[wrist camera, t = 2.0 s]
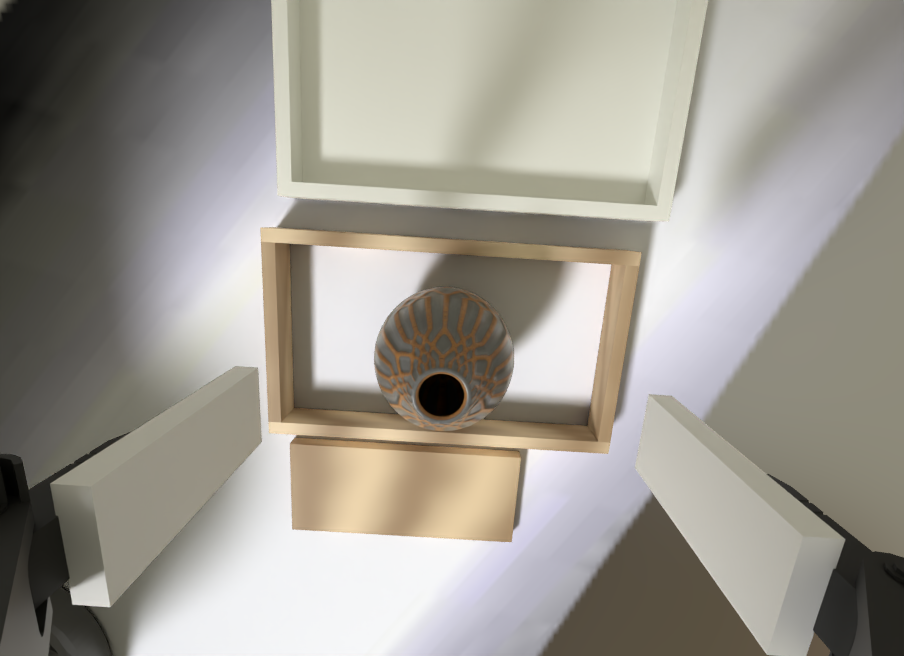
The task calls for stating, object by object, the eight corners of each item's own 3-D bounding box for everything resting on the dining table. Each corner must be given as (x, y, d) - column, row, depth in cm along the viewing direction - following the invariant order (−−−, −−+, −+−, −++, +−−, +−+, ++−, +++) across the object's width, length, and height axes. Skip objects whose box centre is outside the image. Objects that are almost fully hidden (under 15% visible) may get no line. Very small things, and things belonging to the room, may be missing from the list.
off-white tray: (293, 198, 23) (277, 195, 21) (288, -50, 20) (268, -82, 18) (649, 221, 23) (668, 221, 21) (690, -21, 21) (717, -50, 18)
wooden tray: (282, 417, 26) (268, 433, 24) (276, 227, 23) (260, 227, 22) (596, 436, 26) (608, 453, 24) (626, 250, 24) (641, 252, 22)
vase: (507, 280, 24) (536, 310, 16) (502, 394, 26) (525, 477, 17) (385, 278, 24) (348, 307, 16) (388, 392, 26) (355, 474, 17)
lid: (296, 520, 28) (292, 529, 27) (294, 437, 26) (289, 443, 26) (509, 533, 28) (511, 542, 27) (519, 451, 27) (521, 457, 26)
